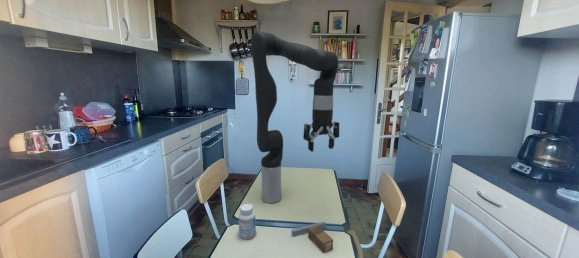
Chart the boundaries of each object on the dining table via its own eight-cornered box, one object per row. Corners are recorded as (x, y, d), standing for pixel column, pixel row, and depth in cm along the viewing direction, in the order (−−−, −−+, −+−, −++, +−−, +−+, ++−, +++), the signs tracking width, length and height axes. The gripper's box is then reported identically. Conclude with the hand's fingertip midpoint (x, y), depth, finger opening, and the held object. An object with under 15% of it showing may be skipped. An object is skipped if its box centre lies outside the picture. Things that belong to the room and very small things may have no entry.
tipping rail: (291, 234, 91) (291, 229, 90) (324, 225, 96) (324, 221, 96) (292, 236, 89) (292, 231, 89) (325, 227, 95) (325, 223, 94)
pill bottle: (248, 227, 95) (247, 201, 92) (259, 233, 91) (258, 206, 88) (235, 235, 90) (234, 207, 88) (246, 242, 86) (245, 213, 84)
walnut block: (308, 228, 88) (323, 243, 80) (317, 225, 90) (333, 239, 82) (308, 238, 89) (323, 253, 81) (317, 234, 91) (332, 249, 83)
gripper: (333, 105, 96) (331, 145, 99) (300, 107, 90) (300, 149, 94) (344, 108, 89) (342, 150, 93) (310, 109, 84) (309, 154, 87)
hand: (321, 149), depth 93 cm, fingers open, 8 cm apart
